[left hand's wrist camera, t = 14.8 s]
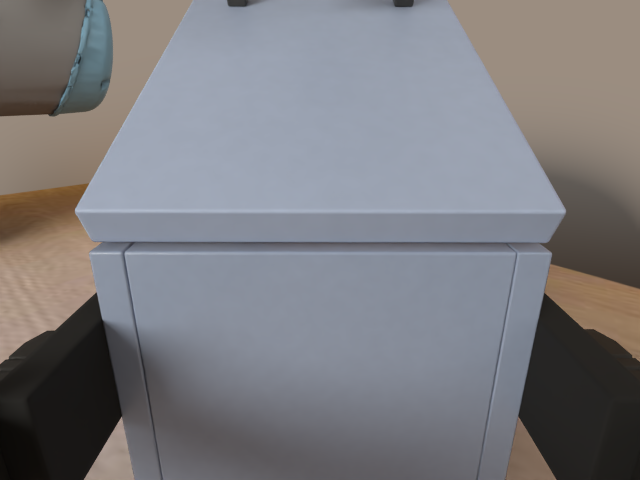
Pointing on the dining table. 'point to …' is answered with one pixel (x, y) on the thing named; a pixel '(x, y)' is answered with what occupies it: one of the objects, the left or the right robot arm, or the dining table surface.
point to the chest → (320, 356)
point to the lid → (320, 134)
